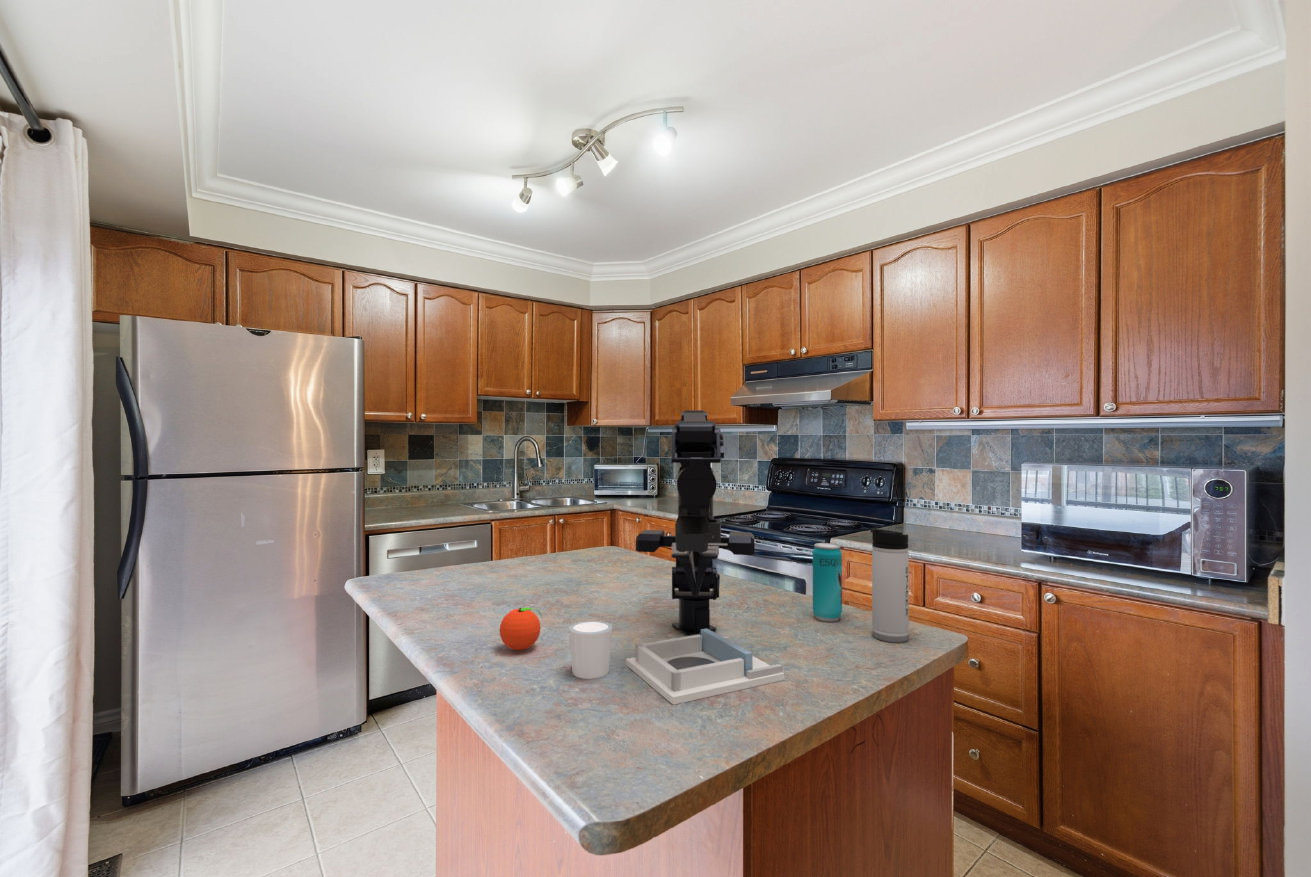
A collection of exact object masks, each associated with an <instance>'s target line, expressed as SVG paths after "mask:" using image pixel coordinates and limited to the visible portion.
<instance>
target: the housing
mask: <svg viewBox="0 0 1311 877" xmlns="http://www.w3.org/2000/svg"><path fill="white" fill-rule="evenodd" d="M723 637H724V638H725V639H727V640H729V641H730V637H728V636H726V635H725V636H723ZM625 666H627V668H629V669H630V670H631V671H632V672H634V673H635V674H636V675H637V676H638V677H640V678H641V680H643V681H644V682H646V683H647V684H648V685H649V686H650V687H651V688H653V690H655V691H656V692H657V693H658V694H659V695H661V696H662V697H663V698H664V699H665V700H667V702H669V703H671V704H672V705H677V704H683V703H686V702H691V701H696V700H701V699H705V698H710V697H713V696H718V695H722V694H727V693H732V692H737V691H742V690H745V689H750V688H754V687H759V686H763V685H764V686H765V685H768V684H772V683H776V682H777V683H778V682H781V681H782V682H783V681H785V672H783V665H781V664H779V663H776V664H773V665H772V664H771V665H770V664H768V663H767V662H764V661H763V660H761V659H759V658H757V657H755V656H754V655H753V669H752V670H747V671H746V676H745V675H744V660H743V659H741V658H737V659H732V660H727V661H720V660H719V659H717V658H715V657H714V656H712V655H711V654H709V653H707V652H706V651H704V650H702V636H701V634H694V635H686V636H683V637H676V638H671V639H670V638H669V639H663V640H657V641H650V642H645V643H639V644H635V656H634V657H627V658H625Z"/></svg>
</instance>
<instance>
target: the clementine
mask: <svg viewBox="0 0 1311 877" xmlns="http://www.w3.org/2000/svg"><path fill="white" fill-rule="evenodd" d="M533 610H534V608H532V607H522V608H521V607H519V608H514V609H512V610H510V611H509V612H508V613H506V614H505V616H504V617H503V618H502V620H501V622H500V625H499V636H500V639H501V641H502V643H503V644H504V645H505V646H506V647H507V648H509V649H510V650H514V651H523V650H525V649H526V650H527V649H529V648H531V647H532V646H533V645H534V644H535V643H536V642H537V641H538V640H539V639H538V638H539V636H540V635H541V623H540V622H541V621H540V619H539V617H538V616H537V615H536V613H535V612H534V611H533ZM536 611H537V612H538V614H539V615H540V616H541V617H543V615H542V613H541V612H540V611H539V610H538V609H536Z"/></svg>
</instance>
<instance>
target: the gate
mask: <svg viewBox="0 0 1311 877" xmlns="http://www.w3.org/2000/svg"><path fill="white" fill-rule="evenodd" d="M700 635H701V636H702V650H704V651H706V652H707V653H709V654H711V655H712V656H714V657H715V658H717V659H719V660H720V661H727V660H732V659H737V658H741V659H743V660H744V675H745V676H746V671H747V670H752V669H753V656H754V655H753V652H752V651H750V650H747V649H746V648H745V647H742V646H741V645H739V644H737V643H735V642H733V641H731V640H730V639H729V640H727V639H725V638H724V637H725V636H722V635H720V634H718V633H716V632H715V631H711V630H709V629H701V633H700Z"/></svg>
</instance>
